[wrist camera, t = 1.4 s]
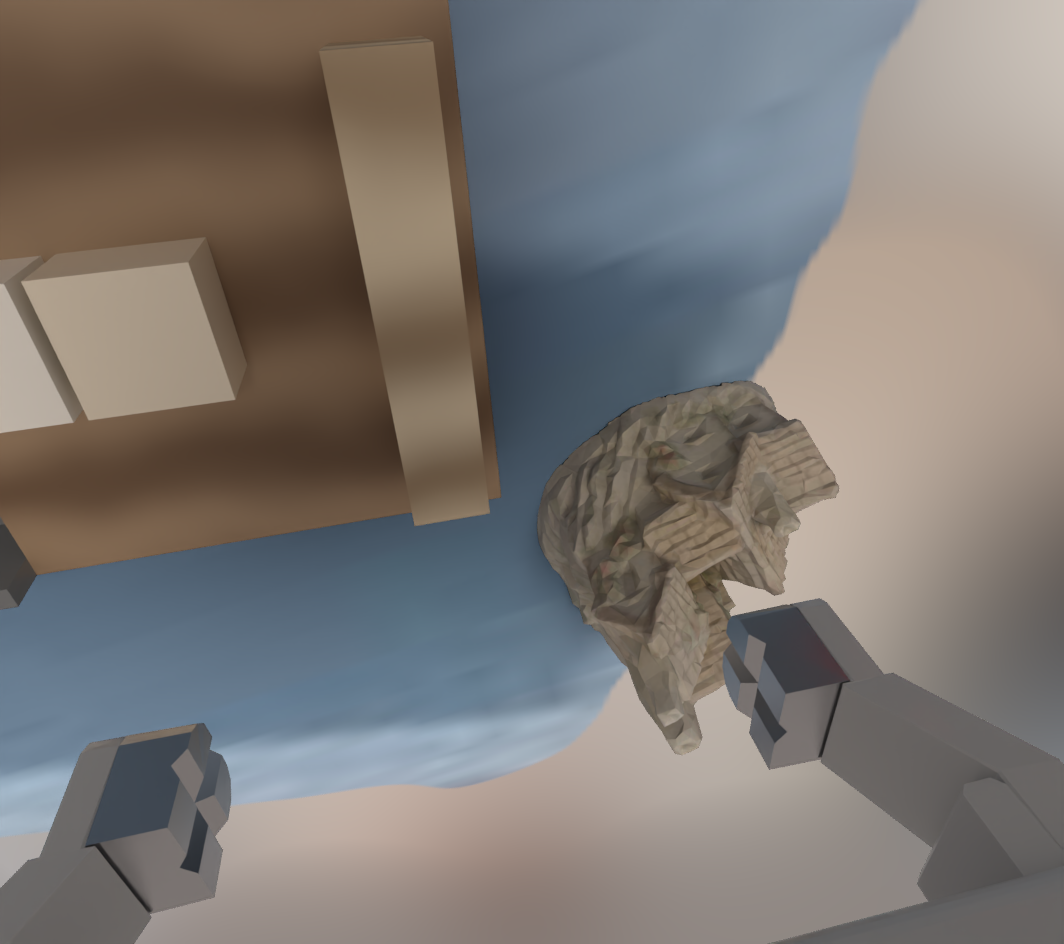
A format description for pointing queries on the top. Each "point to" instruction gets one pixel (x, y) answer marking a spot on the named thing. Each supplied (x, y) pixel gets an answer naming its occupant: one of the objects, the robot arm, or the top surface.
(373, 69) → the bar
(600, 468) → the ceramic cottage
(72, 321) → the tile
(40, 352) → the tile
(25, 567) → the box
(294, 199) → the plate
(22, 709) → the top surface
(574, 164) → the top surface
